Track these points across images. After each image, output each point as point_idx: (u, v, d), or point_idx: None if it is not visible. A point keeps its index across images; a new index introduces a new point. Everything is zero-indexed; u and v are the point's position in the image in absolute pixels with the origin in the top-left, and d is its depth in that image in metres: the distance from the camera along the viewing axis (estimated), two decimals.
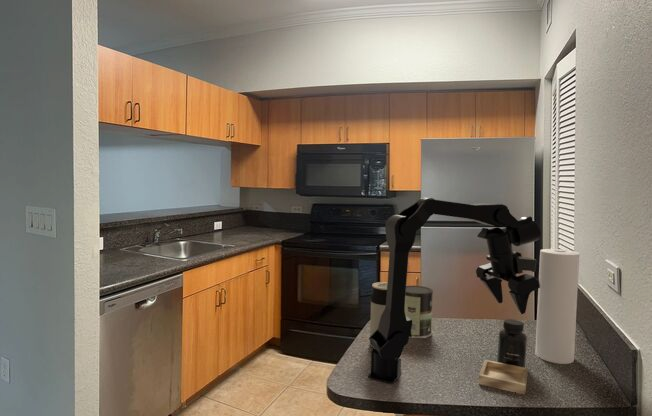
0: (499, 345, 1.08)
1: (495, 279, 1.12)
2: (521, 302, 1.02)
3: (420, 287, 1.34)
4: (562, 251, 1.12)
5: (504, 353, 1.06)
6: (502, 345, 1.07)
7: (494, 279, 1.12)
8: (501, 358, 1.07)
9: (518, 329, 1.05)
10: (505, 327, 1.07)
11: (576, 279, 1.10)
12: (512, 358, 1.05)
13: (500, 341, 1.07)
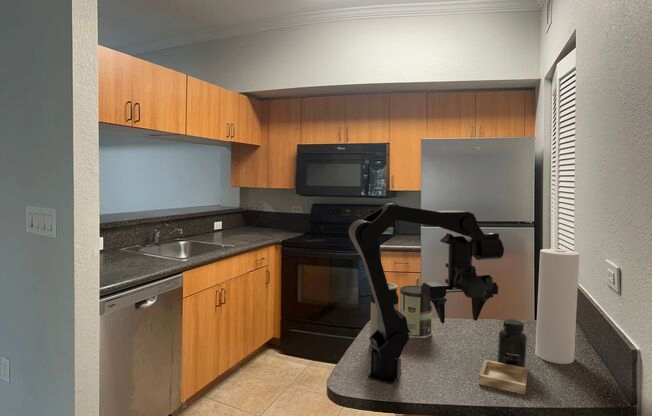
0: (499, 345, 1.08)
1: None
2: (437, 309, 1.04)
3: (420, 287, 1.34)
4: (562, 251, 1.12)
5: (504, 353, 1.06)
6: (502, 345, 1.07)
7: None
8: (501, 358, 1.07)
9: (518, 329, 1.05)
10: (505, 327, 1.07)
11: (576, 279, 1.10)
12: (512, 358, 1.05)
13: (500, 341, 1.07)
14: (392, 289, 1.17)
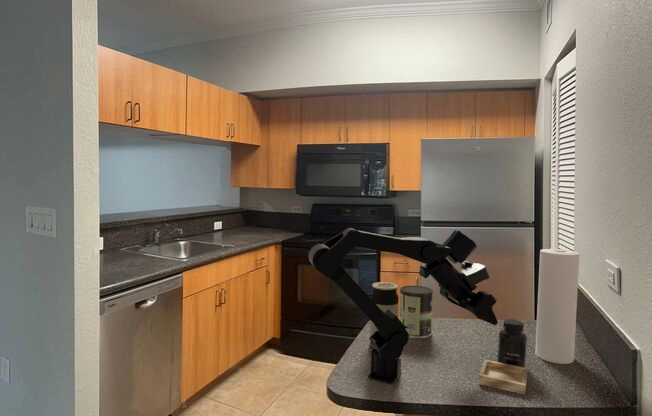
0: (499, 345, 1.08)
1: None
2: (488, 317, 1.00)
3: (420, 287, 1.34)
4: (562, 251, 1.12)
5: (504, 353, 1.06)
6: (502, 345, 1.07)
7: None
8: (501, 358, 1.07)
9: (518, 329, 1.05)
10: (505, 327, 1.07)
11: (576, 279, 1.10)
12: (512, 358, 1.05)
13: (500, 341, 1.07)
14: (392, 289, 1.17)
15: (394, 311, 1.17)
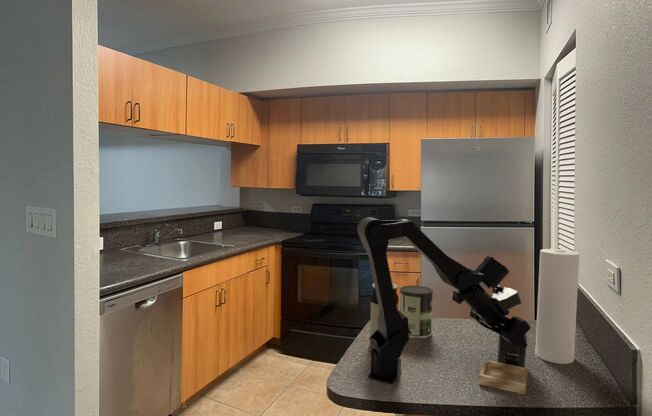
0: (499, 345, 1.08)
1: None
2: (519, 341, 1.03)
3: (420, 287, 1.34)
4: (562, 251, 1.12)
5: (504, 353, 1.06)
6: (502, 344, 1.07)
7: None
8: (501, 358, 1.07)
9: None
10: None
11: (576, 279, 1.10)
12: (512, 358, 1.05)
13: (500, 341, 1.07)
14: None
15: None
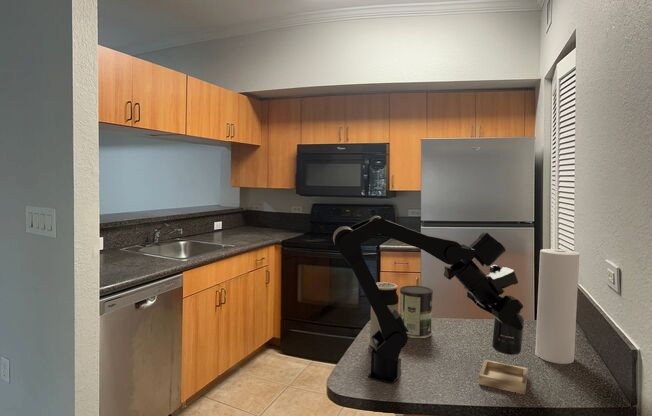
0: (494, 327, 1.03)
1: None
2: (512, 322, 0.98)
3: (420, 287, 1.34)
4: (562, 251, 1.12)
5: (498, 335, 1.01)
6: (497, 326, 1.02)
7: None
8: (495, 340, 1.02)
9: None
10: None
11: (576, 279, 1.10)
12: (506, 341, 1.00)
13: (495, 322, 1.03)
14: (392, 289, 1.17)
15: None
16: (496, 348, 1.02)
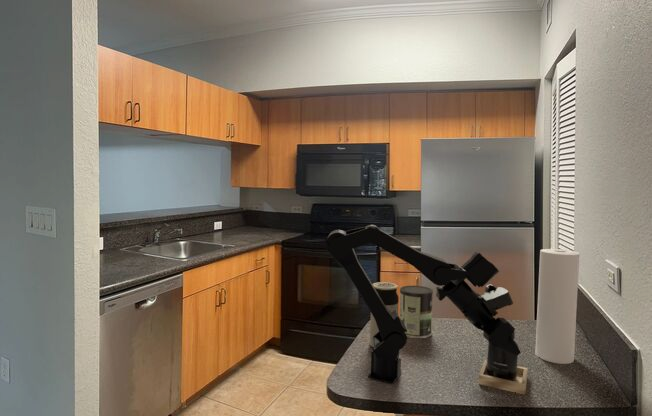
0: (488, 353, 1.01)
1: None
2: (508, 346, 0.94)
3: (420, 287, 1.34)
4: (562, 251, 1.12)
5: (491, 362, 0.99)
6: (490, 353, 1.00)
7: None
8: (488, 367, 1.00)
9: None
10: None
11: (576, 279, 1.10)
12: (499, 368, 0.98)
13: (488, 349, 1.01)
14: (392, 289, 1.17)
15: None
16: (490, 375, 1.00)
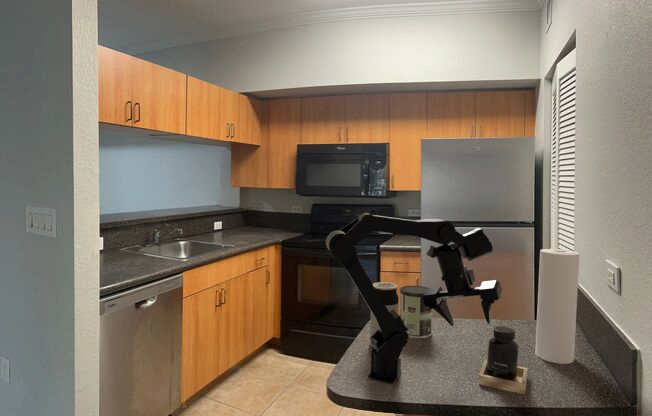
0: (488, 353, 1.01)
1: (443, 302, 1.06)
2: (489, 311, 1.00)
3: (420, 287, 1.34)
4: (562, 251, 1.12)
5: (491, 362, 0.99)
6: (490, 353, 1.00)
7: (443, 302, 1.06)
8: (488, 367, 1.00)
9: (507, 337, 0.98)
10: (494, 334, 1.00)
11: (576, 279, 1.10)
12: (499, 369, 0.98)
13: (488, 349, 1.00)
14: (392, 289, 1.17)
15: None
16: None
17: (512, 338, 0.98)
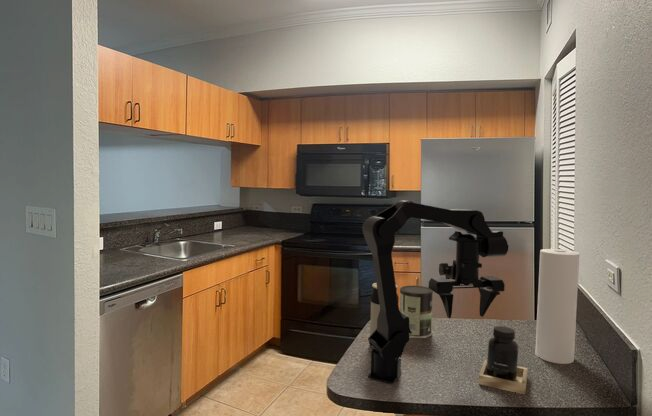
0: (488, 353, 1.01)
1: None
2: None
3: (420, 287, 1.34)
4: (562, 251, 1.12)
5: (491, 362, 0.99)
6: (490, 353, 1.00)
7: None
8: (488, 367, 1.00)
9: (507, 337, 0.98)
10: (494, 334, 1.00)
11: (576, 279, 1.10)
12: (499, 369, 0.98)
13: (488, 349, 1.00)
14: None
15: None
16: None
17: (512, 338, 0.98)
